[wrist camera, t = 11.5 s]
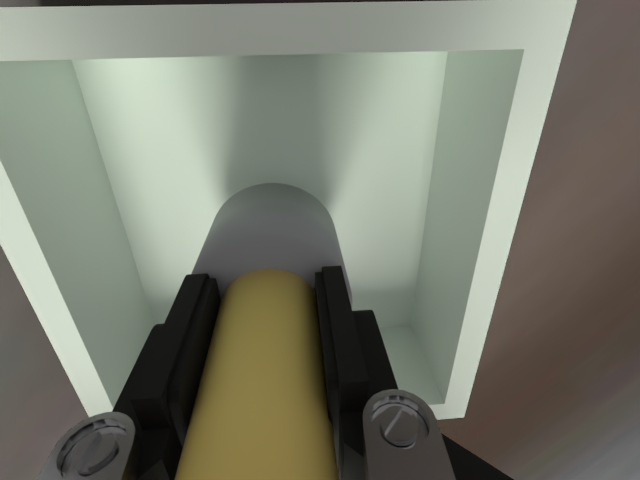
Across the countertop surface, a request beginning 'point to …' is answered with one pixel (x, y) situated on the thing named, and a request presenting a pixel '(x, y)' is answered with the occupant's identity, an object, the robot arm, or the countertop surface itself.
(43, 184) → the bin
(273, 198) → the strut
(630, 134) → the countertop surface
